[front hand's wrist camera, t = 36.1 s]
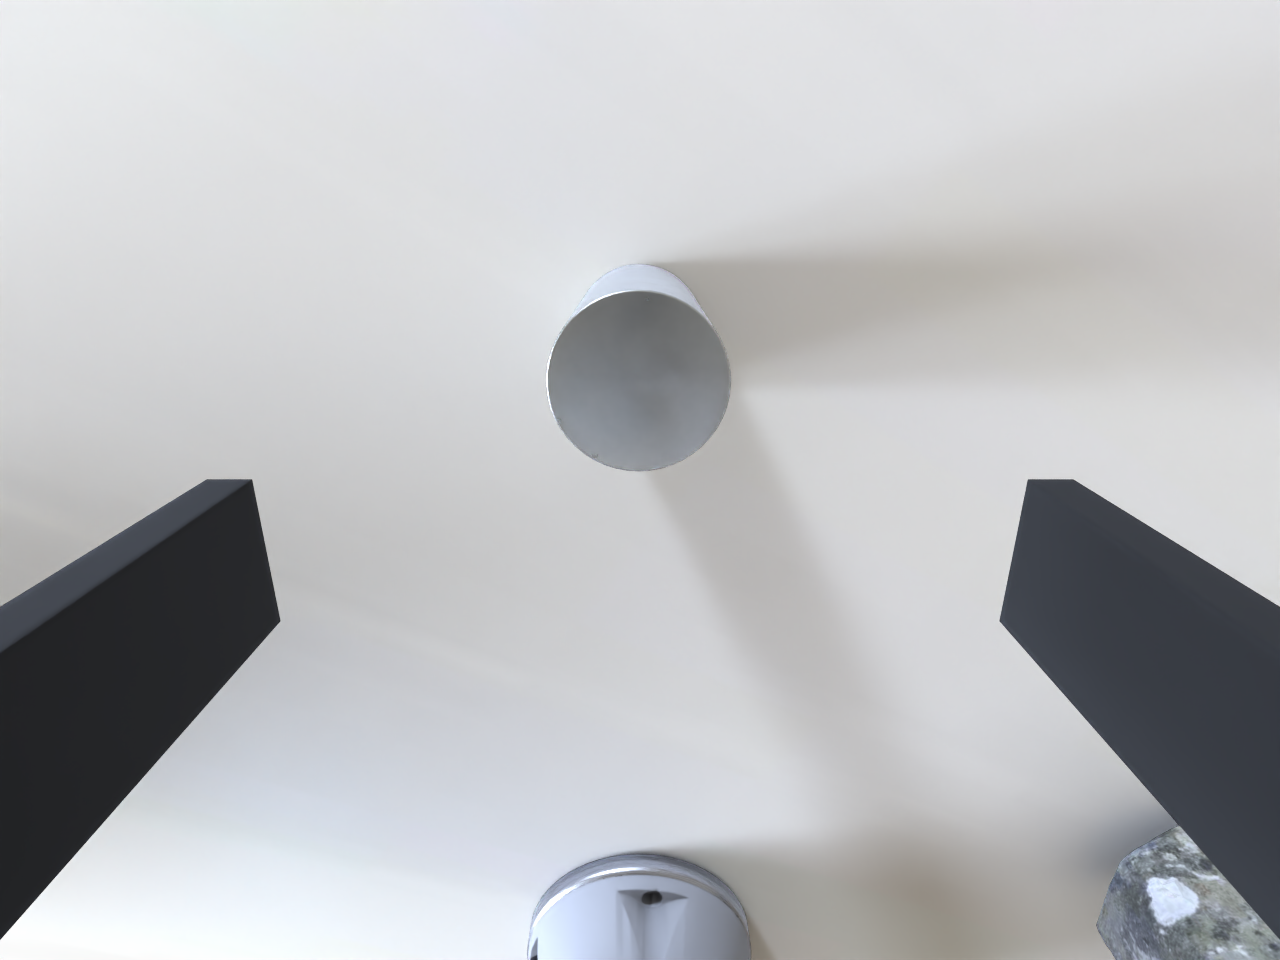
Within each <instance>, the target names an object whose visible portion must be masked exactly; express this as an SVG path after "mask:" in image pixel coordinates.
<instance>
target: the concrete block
mask: <svg viewBox="0 0 1280 960" xmlns="http://www.w3.org/2000/svg"><path fill="white" fill-rule="evenodd" d="M1096 926H1097V928H1098V931H1099V933H1100V935H1101V937H1102V939H1103V940H1104V942H1105V944H1106V945H1107V947H1108V948H1109V949H1110V950H1111V952H1112V954H1113V956H1114V957H1115V959H1116V960H1280V939H1279V938H1278V937H1277V936H1276V935H1275V934H1274V933H1273V932H1272V930H1271V929H1270V928H1269V927H1268V926H1267V925H1266V924H1265V922H1264V921H1263V920H1262V919H1261V918H1260V917H1259V916H1258V914H1257V913H1256V912H1255V911H1254V910H1253V909H1252V908H1251V906H1250V905H1249V904H1248V903H1247V902H1246V901H1245V900H1244V899H1243V897H1242V896H1241V895H1240V894H1239V893H1238V892H1237V891H1236V889H1235V888H1234V887H1233V886H1232V885H1231V884H1230V883H1229V881H1228V880H1227V879H1226V878H1225V877H1224V876H1223V875H1222V874H1221V872H1220V871H1219V870H1218V869H1217V868H1216V867H1215V866H1214V864H1213V863H1212V862H1211V861H1210V860H1209V859H1208V858H1207V856H1206V855H1205V854H1204V853H1203V852H1202V851H1201V850H1200V848H1199V847H1198V846H1197V845H1196V844H1195V843H1194V842H1193V841H1192V839H1191V838H1190V837H1189V836H1188V835H1187V834H1186V833H1185V831H1184V830H1183V829H1182V828H1181V827H1180V826H1177V827H1175V828H1172V829H1170V830H1169V831H1167V832H1165V833H1163V834H1161V835H1159V836H1157V837H1156V838H1154V839H1153V840H1151V841H1149V842H1148V843H1146V844H1145V845H1143V846H1141V847H1139V848H1137V849H1135V850H1134V851H1133V852H1131V853H1130V854H1129V855H1127V856H1126V857H1125V858H1124V859H1123V860H1122V861H1121V862H1120V864H1119V866H1118V869H1117V871H1116V873H1115V875H1114V877H1113V879H1112V882H1111V884H1110V886H1109V889H1108V892H1107V895H1106V898H1105V900H1104V904H1103V907H1102V910H1101V913H1100V916H1099V919H1098V922H1097V925H1096Z"/></svg>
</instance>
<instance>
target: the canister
mask: <svg viewBox="0 0 1280 960" xmlns="http://www.w3.org/2000/svg"><path fill="white" fill-rule="evenodd" d="M546 386H547V395H548V400H549V403H550V407H551V410H552V413H553V415H554V418H555V420H556V422H557V423H558V425H559V427H560V429H561V430H562V431H563V433H564V434H565V436H566V437H567V438H568V439H569V440H570V441H571V442H572V443H573V445H574V446H575V447H577V448H578V449H579V450H580V451H582V452H583V453H584V454H585V455H587V456H589V457H590V458H592V459H593V460H595V461H597V462H600V463H602V464H604V465H607V466H610V467H613V468H616V469H622V470H627V471H650V470H656V469H661V468H664V467H667V466H671V465H673V464H676V463H678V462H680V461H682V460H684V459H686V458H687V457H689V456H690V455H692V454H693V453H695V452H696V451H697V450H698V449H699V448H701V447H702V446H703V445H704V444H705V443H706V442H707V441H708V440H709V439H710V437H711V436H712V435H713V433H714V432H715V431H716V429H717V427H718V426H719V424H720V422H721V420H722V418H723V416H724V413H725V411H726V408H727V405H728V400H729V396H730V388H731V371H730V365H729V360H728V356H727V353H726V350H725V347H724V345H723V343H722V341H721V338H720V337H719V335H718V333H717V332H716V330H715V329H714V327H713V325H712V324H711V322H710V321H709V319H708V318H707V316H706V315H705V313H704V311H703V310H702V308H701V307H700V305H699V304H698V302H697V300H696V299H695V297H694V296H693V294H692V293H691V291H690V290H689V288H688V287H687V286H686V285H685V284H684V283H683V282H682V281H681V280H680V279H679V278H678V277H676V276H675V275H673V274H672V273H670V272H668V271H666V270H664V269H662V268H659V267H656V266H652V265H646V264H632V265H626V266H622V267H619V268H616V269H614V270H612V271H610V272H608V273H606V274H605V275H603V276H602V277H600V278H599V279H598V280H597V281H596V282H595V283H594V284H593V285H592V286H591V287H590V289H589V290H588V291H587V293H586V294H585V296H584V297H583V299H582V300H581V302H580V303H579V305H578V306H577V308H576V309H575V311H574V312H573V314H572V315H571V317H570V318H569V320H568V321H567V323H566V324H565V326H564V327H563V329H562V330H561V332H560V334H559V335H558V337H557V339H556V341H555V343H554V345H553V348H552V350H551V354H550V357H549V360H548V366H547V376H546Z"/></svg>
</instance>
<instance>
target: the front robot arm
mask: <svg viewBox="0 0 1280 960" xmlns="http://www.w3.org/2000/svg"><path fill="white" fill-rule="evenodd" d="M279 622H280V616H279V611H278V607H277V602H276V597H275V592H274V587H273V582H272V577H271V572H270V567H269V562H268V557H267V552H266V547H265V542H264V537H263V532H262V527H261V522H260V517H259V512H258V507H257V502H256V497H255V492H254V487H253V482H252V479H207V480H205V481H203V482H202V483H200V484H199V485H197V486H195V487H194V488H192V489H191V490H189V491H187V492H186V493H184V494H182V495H181V496H179V497H178V498H176V499H174V500H173V501H171V502H169V503H168V504H166V505H165V506H163V507H161V508H160V509H158V510H156V511H155V512H153V513H152V514H150V515H148V516H147V517H145V518H144V519H142V520H140V521H139V522H137V523H135V524H134V525H132V526H131V527H129V528H127V529H126V530H124V531H122V532H121V533H119V534H118V535H116V536H114V537H113V538H111V539H109V540H108V541H106V542H105V543H103V544H101V545H100V546H98V547H97V548H95V549H93V550H92V551H90V552H88V553H87V554H85V555H84V556H82V557H80V558H79V559H77V560H75V561H74V562H72V563H71V564H69V565H67V566H66V567H64V568H62V569H61V570H59V571H58V572H56V573H54V574H53V575H51V576H50V577H48V578H46V579H45V580H43V581H41V582H40V583H38V584H37V585H35V586H33V587H32V588H30V589H28V590H27V591H25V592H24V593H22V594H20V595H19V596H17V597H15V598H14V599H12V600H11V601H9V602H7V603H6V604H4V605H3V606H1V607H0V939H1V938H2V937H3V936H4V935H5V934H6V933H7V931H8V930H9V929H10V928H11V927H12V926H13V925H14V924H15V922H16V921H17V920H18V919H19V918H20V917H21V916H22V914H23V913H24V912H25V911H26V910H27V909H28V908H29V906H30V905H31V904H32V903H33V902H34V901H35V900H36V899H37V897H38V896H39V895H40V894H41V893H42V892H43V891H44V889H45V888H46V887H47V886H48V885H49V884H50V883H51V881H52V880H53V879H54V878H55V877H56V876H57V875H58V873H59V872H60V871H61V870H62V869H63V868H64V867H65V866H66V864H67V863H68V862H69V861H70V860H71V859H72V858H73V856H74V855H75V854H76V853H77V852H78V851H79V850H80V848H81V847H82V846H83V845H84V844H85V843H86V842H87V841H88V839H89V838H90V837H91V836H92V835H93V834H94V833H95V831H96V830H97V829H98V828H99V827H100V826H101V825H102V823H103V822H104V821H105V820H106V819H107V818H108V817H109V815H110V814H111V813H112V812H113V811H114V810H115V809H116V808H117V806H118V805H119V804H120V803H121V802H122V801H123V800H124V798H125V797H126V796H127V795H128V794H129V793H130V792H131V790H132V789H133V788H134V787H135V786H136V785H137V784H138V783H139V781H140V780H141V779H142V778H143V777H144V776H145V775H146V773H147V772H148V771H149V770H150V769H151V768H152V767H153V765H154V764H155V763H156V762H157V761H158V760H159V759H160V757H161V756H162V755H163V754H164V753H165V752H166V751H167V750H168V748H169V747H170V746H171V745H172V744H173V743H174V742H175V740H176V739H177V738H178V737H179V736H180V735H181V734H182V732H183V731H184V730H185V729H186V728H187V727H188V726H189V725H190V723H191V722H192V721H193V720H194V719H195V718H196V717H197V715H198V714H199V713H200V712H201V711H202V710H203V709H204V707H205V706H206V705H207V704H208V703H209V702H210V701H211V699H212V698H213V697H214V696H215V695H216V694H217V693H218V692H219V690H220V689H221V688H222V687H223V686H224V685H225V684H226V682H227V681H228V680H229V679H230V678H231V677H232V676H233V674H234V673H235V672H236V671H237V670H238V669H239V668H240V667H241V665H242V664H243V663H244V662H245V661H246V660H247V659H248V657H249V656H250V655H251V654H252V653H253V652H254V651H255V649H256V648H257V647H258V646H259V645H260V644H261V643H262V641H263V640H264V639H265V638H266V637H267V636H268V635H269V634H270V632H271V631H272V630H273V629H274V628H275V627H276V626H277V624H278V623H279ZM1000 622H1001V623H1002V624H1003V626H1004V627H1005V628H1006V629H1007V630H1008V631H1009V632H1010V634H1011V635H1012V636H1013V637H1014V638H1015V639H1016V640H1017V641H1018V643H1019V644H1020V645H1021V646H1022V647H1023V648H1024V649H1025V651H1026V652H1027V653H1028V654H1029V655H1030V656H1031V657H1032V659H1033V660H1034V661H1035V662H1036V663H1037V664H1038V665H1039V667H1040V668H1041V669H1042V670H1043V671H1044V672H1045V673H1046V674H1047V676H1048V677H1049V678H1050V679H1051V680H1052V681H1053V682H1054V684H1055V685H1056V686H1057V687H1058V688H1059V689H1060V690H1061V692H1062V693H1063V694H1064V695H1065V696H1066V697H1067V698H1068V699H1069V701H1070V702H1071V703H1072V704H1073V705H1074V706H1075V707H1076V709H1077V710H1078V711H1079V712H1080V713H1081V714H1082V715H1083V717H1084V718H1085V719H1086V720H1087V721H1088V722H1089V723H1090V725H1091V726H1092V727H1093V728H1094V729H1095V730H1096V731H1097V732H1098V734H1099V735H1100V736H1101V737H1102V738H1103V739H1104V740H1105V742H1106V743H1107V744H1108V745H1109V746H1110V747H1111V748H1112V750H1113V751H1114V752H1115V753H1116V754H1117V755H1118V756H1119V757H1120V759H1121V760H1122V761H1123V762H1124V763H1125V764H1126V765H1127V767H1128V768H1129V769H1130V770H1131V771H1132V772H1133V773H1134V775H1135V776H1136V777H1137V778H1138V779H1139V780H1140V781H1141V783H1142V784H1143V785H1144V786H1145V787H1146V788H1147V789H1148V790H1149V792H1150V793H1151V794H1152V795H1153V796H1154V797H1155V798H1156V800H1157V801H1158V802H1159V803H1160V804H1161V805H1162V806H1163V808H1164V809H1165V810H1166V811H1167V812H1168V813H1169V814H1170V815H1171V817H1172V818H1173V819H1174V820H1175V821H1176V822H1177V823H1178V825H1179V826H1180V827H1181V828H1182V829H1183V830H1184V831H1185V833H1186V834H1187V835H1188V836H1189V837H1190V838H1191V839H1192V841H1193V842H1194V843H1195V844H1196V845H1197V846H1198V847H1199V848H1200V850H1201V851H1202V852H1203V853H1204V854H1205V855H1206V856H1207V858H1208V859H1209V860H1210V861H1211V862H1212V863H1213V864H1214V866H1215V867H1216V868H1217V869H1218V870H1219V871H1220V872H1221V874H1222V875H1223V876H1224V877H1225V878H1226V879H1227V880H1228V881H1229V883H1230V884H1231V885H1232V886H1233V887H1234V888H1235V889H1236V891H1237V892H1238V893H1239V894H1240V895H1241V896H1242V897H1243V899H1244V900H1245V901H1246V902H1247V903H1248V904H1249V905H1250V906H1251V908H1252V909H1253V910H1254V911H1255V912H1256V913H1257V914H1258V916H1259V917H1260V918H1261V919H1262V920H1263V921H1264V922H1265V924H1266V925H1267V926H1268V927H1269V928H1270V929H1271V930H1272V932H1273V933H1274V934H1275V935H1276V936H1277V937H1278V938H1279V939H1280V607H1279V606H1277V605H1276V604H1274V603H1273V602H1271V601H1269V600H1268V599H1266V598H1265V597H1263V596H1261V595H1260V594H1258V593H1256V592H1255V591H1253V590H1252V589H1250V588H1248V587H1247V586H1245V585H1243V584H1242V583H1240V582H1239V581H1237V580H1235V579H1234V578H1232V577H1230V576H1229V575H1227V574H1226V573H1224V572H1222V571H1221V570H1219V569H1218V568H1216V567H1214V566H1213V565H1211V564H1209V563H1208V562H1206V561H1205V560H1203V559H1201V558H1200V557H1198V556H1196V555H1195V554H1193V553H1192V552H1190V551H1188V550H1187V549H1185V548H1183V547H1182V546H1180V545H1179V544H1177V543H1175V542H1174V541H1172V540H1171V539H1169V538H1167V537H1166V536H1164V535H1162V534H1161V533H1159V532H1158V531H1156V530H1154V529H1153V528H1151V527H1149V526H1148V525H1146V524H1145V523H1143V522H1141V521H1140V520H1138V519H1136V518H1135V517H1133V516H1132V515H1130V514H1128V513H1127V512H1125V511H1124V510H1122V509H1120V508H1119V507H1117V506H1115V505H1114V504H1112V503H1111V502H1109V501H1107V500H1106V499H1104V498H1102V497H1101V496H1099V495H1098V494H1096V493H1094V492H1093V491H1091V490H1089V489H1088V488H1086V487H1085V486H1083V485H1081V484H1080V483H1078V482H1077V481H1075V480H1073V479H1028V482H1027V487H1026V492H1025V497H1024V502H1023V507H1022V512H1021V517H1020V522H1019V527H1018V532H1017V537H1016V542H1015V547H1014V552H1013V557H1012V562H1011V567H1010V572H1009V577H1008V582H1007V587H1006V592H1005V597H1004V602H1003V607H1002V611H1001V616H1000ZM527 956H528V960H751V944H750V938H749V931H748V924H747V920H746V915H745V913H744V910H743V908H742V906H741V904H740V902H739V900H738V899H737V897H736V896H735V894H734V893H733V892H732V891H731V890H730V889H729V888H728V887H727V886H726V885H725V884H724V883H723V882H722V881H721V880H719V879H718V878H717V877H715V876H714V875H713V874H711V873H709V872H708V871H706V870H704V869H702V868H700V867H698V866H696V865H693V864H691V863H688V862H686V861H682V860H679V859H675V858H671V857H666V856H659V855H649V854H629V855H619V856H613V857H608V858H604V859H599V860H596V861H593V862H590V863H588V864H585V865H583V866H580V867H578V868H576V869H575V870H573V871H571V872H569V873H568V874H566V875H565V876H563V877H562V878H560V879H559V880H558V881H557V882H555V883H554V884H553V885H552V886H551V887H550V888H549V889H548V890H547V892H546V893H545V894H544V895H543V896H542V898H541V900H540V901H539V903H538V905H537V907H536V909H535V911H534V914H533V918H532V923H531V929H530V935H529V942H528V951H527Z"/></svg>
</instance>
